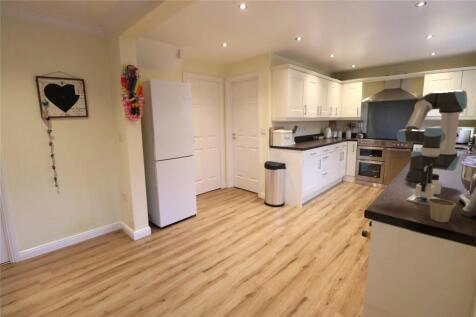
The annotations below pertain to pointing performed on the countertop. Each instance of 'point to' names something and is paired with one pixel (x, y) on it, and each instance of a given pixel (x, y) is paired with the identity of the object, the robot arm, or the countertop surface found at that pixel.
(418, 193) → the cream cube
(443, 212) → the flower pot
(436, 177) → the medicine bottle
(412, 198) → the hub plate
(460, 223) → the countertop surface
